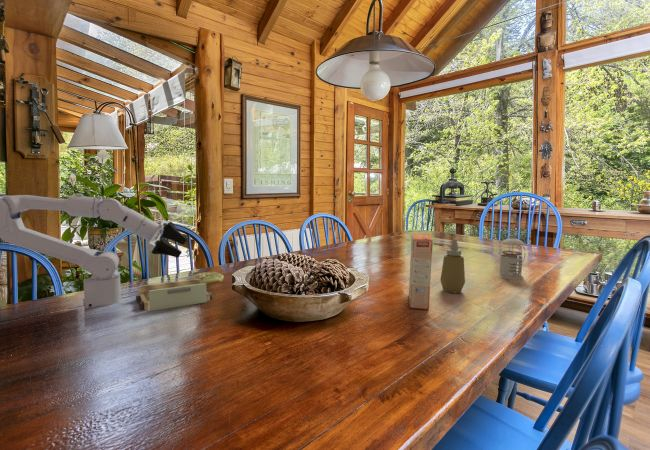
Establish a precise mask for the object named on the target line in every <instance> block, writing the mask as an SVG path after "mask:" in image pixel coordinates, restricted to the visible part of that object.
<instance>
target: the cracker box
mask: <svg viewBox="0 0 650 450" xmlns="http://www.w3.org/2000/svg"><path fill="white" fill-rule="evenodd" d="M410 241H411V243H410V262H409V263H410V264H409V265H410V266H409V283H408V284H409V285H408V301H409V308H410V309H416V310H429V309H430V293H431V278H432V277H431V276H432V261H433V260H432V259H433V258H432V256H433V242H434V239H433V238H432V236H431V235H430V233H423V232H422V233H421V232H417V233H416V232H413V233H411V240H410Z"/></svg>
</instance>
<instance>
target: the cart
mask: <svg viewBox="0 0 650 450" xmlns="http://www.w3.org/2000/svg"><path fill="white" fill-rule="evenodd" d="M195 284H200V279H193V278H192V279H184V280H177V281H169V282H161V283H152V284H146V285H145V284H144V285H138V295H136V296H135V301H136V304H138V309H139V310H140V311H144V312H146V311H150V304H149V290H157V289H165V288H172V287H180V286H187V285H195ZM211 300H213V294H212V292H211V291H210V292H208V291H207V302H208V301H211Z"/></svg>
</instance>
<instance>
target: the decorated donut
mask: <svg viewBox="0 0 650 450" xmlns="http://www.w3.org/2000/svg"><path fill="white" fill-rule="evenodd" d="M224 277H225V276H224V275H223V274H222V273H220V272H216V271H207V272H199V273H197V274H194V276H192V279H200V284H203V283H206V285H209V284H211V285H212V284H217V283H221V282H224V279H225V278H224Z"/></svg>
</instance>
